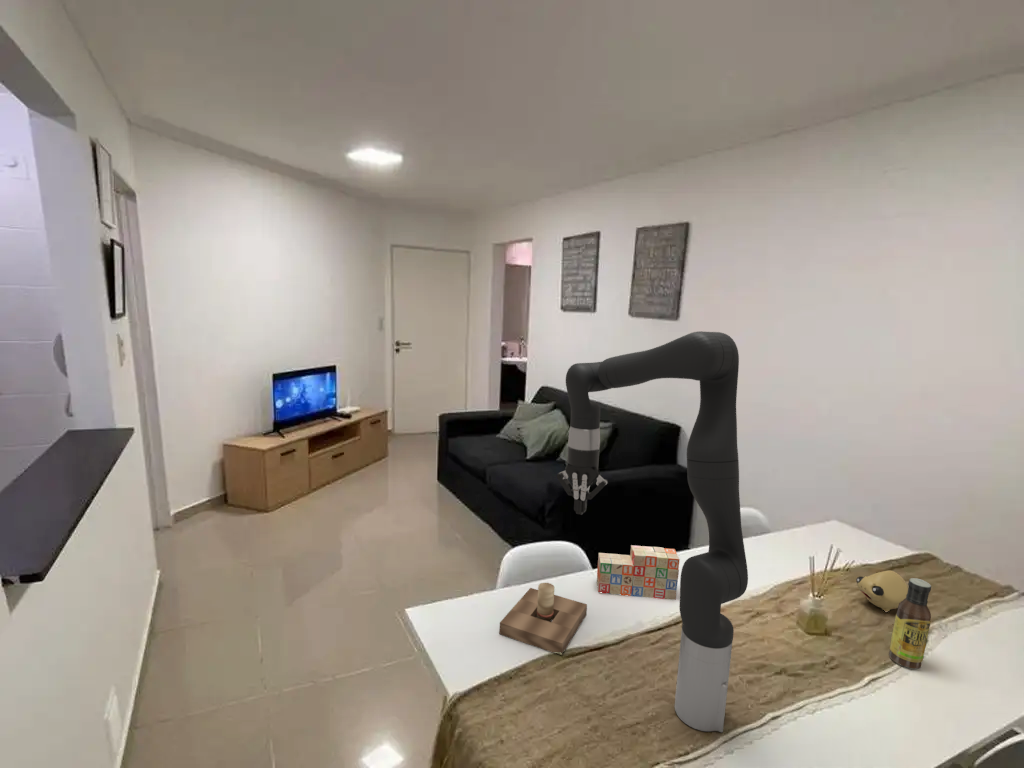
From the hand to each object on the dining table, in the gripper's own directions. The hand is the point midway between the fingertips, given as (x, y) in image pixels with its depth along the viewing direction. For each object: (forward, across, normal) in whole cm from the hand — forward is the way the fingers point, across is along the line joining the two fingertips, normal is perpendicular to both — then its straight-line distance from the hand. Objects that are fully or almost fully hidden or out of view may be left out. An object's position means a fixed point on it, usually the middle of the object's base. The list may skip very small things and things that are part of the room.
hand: (580, 513), depth 128 cm
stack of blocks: (+29, +11, +22) cm, 38 cm away
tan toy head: (+29, +72, +47) cm, 91 cm away
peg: (+28, -6, -6) cm, 30 cm away
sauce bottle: (+29, +73, +22) cm, 82 cm away
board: (+28, -6, -6) cm, 29 cm away
